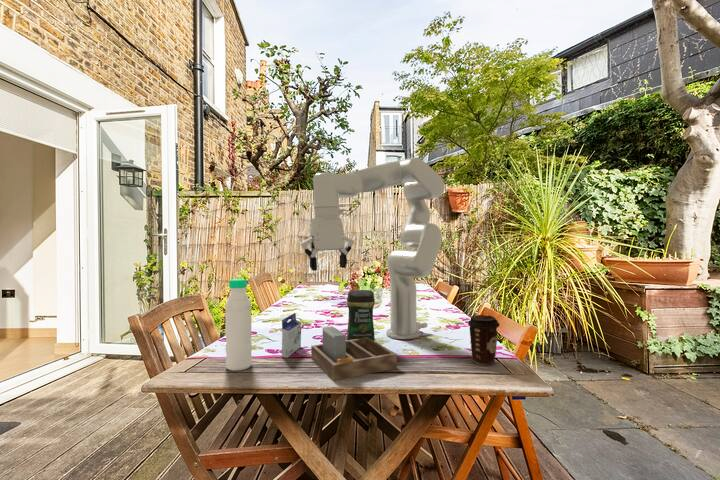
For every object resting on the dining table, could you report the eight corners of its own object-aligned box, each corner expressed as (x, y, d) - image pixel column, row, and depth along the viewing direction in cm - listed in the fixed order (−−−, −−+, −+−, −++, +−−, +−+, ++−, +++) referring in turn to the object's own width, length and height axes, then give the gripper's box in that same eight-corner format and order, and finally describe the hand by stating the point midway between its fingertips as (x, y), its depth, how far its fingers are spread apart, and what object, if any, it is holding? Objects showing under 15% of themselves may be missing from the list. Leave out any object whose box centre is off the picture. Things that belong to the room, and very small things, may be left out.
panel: (332, 359, 108) (332, 326, 108) (346, 370, 99) (346, 334, 99) (322, 361, 106) (322, 327, 106) (335, 373, 97) (335, 336, 97)
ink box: (288, 358, 110) (288, 320, 110) (281, 357, 110) (280, 320, 110) (302, 346, 121) (301, 312, 121) (295, 346, 122) (295, 312, 121)
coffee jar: (347, 348, 119) (346, 292, 118) (346, 341, 127) (345, 288, 126) (376, 347, 119) (376, 291, 119) (373, 340, 127) (373, 288, 127)
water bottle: (237, 373, 98) (236, 281, 98) (220, 368, 102) (219, 279, 101) (257, 365, 104) (256, 278, 104) (240, 360, 108) (239, 277, 107)
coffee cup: (499, 358, 108) (499, 315, 108) (500, 368, 101) (500, 321, 100) (468, 355, 111) (468, 313, 111) (467, 364, 103) (467, 319, 103)
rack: (367, 349, 117) (367, 334, 117) (396, 368, 101) (396, 350, 101) (311, 358, 109) (311, 342, 109) (333, 380, 93) (333, 361, 93)
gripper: (346, 213, 119) (348, 265, 119) (295, 214, 111) (298, 270, 111) (357, 212, 112) (359, 267, 113) (303, 213, 104) (306, 272, 105)
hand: (328, 268), depth 112 cm, fingers open, 9 cm apart
